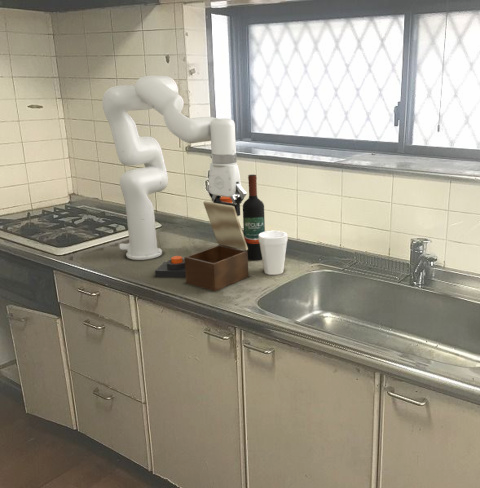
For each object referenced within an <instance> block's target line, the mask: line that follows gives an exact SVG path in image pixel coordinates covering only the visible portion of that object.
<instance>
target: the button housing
mask: <svg viewBox="0 0 480 488" xmlns="http://www.w3.org/2000/svg"><path fill="white" fill-rule="evenodd" d="M182 261H183V262H182V263H177V264H173V263H171V259H168V260H167V261H163V262H162V264H161V265H159V267H157V268H156V269H155V270H154V274H155V278H185V279H186V273H185V260H184V258H182Z"/></svg>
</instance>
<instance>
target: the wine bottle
mask: <svg viewBox="0 0 480 488" xmlns="http://www.w3.org/2000/svg"><path fill="white" fill-rule="evenodd" d="M247 179H248V198H247V199H246V200H245V201H244V202H243V203H242V223H243V235H244V238H245V241H246V244H247V247H248V250H244V251H247V252H248V261H260V260H262V254H261V248H260V243H259V234H260V233H262V232H265V231H266V224H265V220H266V219H265V204H264V202H263V201H262V200H260V199H259V197H258V188H257V179H258V178H257V174H248V175H247Z"/></svg>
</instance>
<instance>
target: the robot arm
mask: <svg viewBox="0 0 480 488" xmlns="http://www.w3.org/2000/svg"><path fill="white" fill-rule="evenodd" d="M101 102H102V104H101V105H102V111H103V113H104V116H105V118H106V120H107V122H108V125H109V127H110V131H111V135H112V139H113V144H114V147H115V151H116V155H117V158H118V160H119V161H118V162H119V163H121V165H123V166H127V167H129V166H131V167H132V166H138V165H143V166H144V167H139V168H134V169H129V170H127V171H125V172H124V173H123V174H122V175H121V176H120V179H119V186H120V190H121V193H122V197H123V200H124V207H125V215H126V222H127V232H128V241H129V242H128V243H119V246H118V247H119V250H120V251H127V252H126V253H125V255H126V257H127V259H129V260H132V261H133V260H135V261H146V260H147V261H148V260H151V259H155V258H158V257H160V256H162V255H163V249H161V248H160V247H158V240H157V227H156V217H155V207H154V204H153V202H152V200H151V199H150V198H149V195H151V194H155V193H159V192H160V193H161V192H163V191H164V190H166V188H167V187H168V185H169V175H168V171H167V167H166V163H165V158H164V154H163V151H162V147H161V145H160V142H158V140H156V138H154V137H152V136H150V135H149V136H148V135H144V136H140V135H139V134H140V133H139V132H138V127H137V123H136V122H135V121H134V119H133V117H132V116H131V115H130V114H129V113H128V112H130V111H146V110H147V111H148V110H151V109H153V110H155V111H156V112H158V113H159V114H160V115H162V116H163V122H164V124H165V126H166V128H167V130H168V131H169V132H170V133H171V134H172V135H174V136H175V137H177V138H178V139H179V140H181V141H183V142H184V143H187V144H197V143H206V142H210V148H211V155H210V158H211V163H210V165H209V170H208V185H207V186H206V187H205V189H206V191H207V193H208V195H209V197H210V199H211V201H212V203H218V204H219V202H221V200H220V198H221V197H222V196H224V197H230V198H231V200H232V203H233V205H232V206H234V207H235V210H236V213H237V216H238V217H240V216H241V204H243V203H242V202H243V201H244V200H245V198H246V196H247V194H248V193H247V191H246V190H245V189H244V188H243V186H242V181H241V173H240V168H239V164H238V163H237V161H238V160H237V142H236V141H237V139H236V122H235V121H234V119H230V118H217V117H214V116H199V117H188V116H186V115H185V114H183V113H182V111H183V109H184V105H185V102H184V98H183V96H181V95H180V94H179V87H178V84H177V82H176V81H175V80H174V79H173V77H170V76H169V75H144V76H141V77H139V78H138V79H137V80H136V82H135V84H120V85H114V86H111V87H109V88H108V89H107V90H105V92H104V93H103V95H102V101H101Z"/></svg>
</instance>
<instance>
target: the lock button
mask: <svg viewBox="0 0 480 488" xmlns="http://www.w3.org/2000/svg"><path fill="white" fill-rule="evenodd" d="M182 259H183V256H181V255H174V256H171V258H170V260H171V263H173V264H177V263H182V262H183V261H182Z"/></svg>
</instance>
